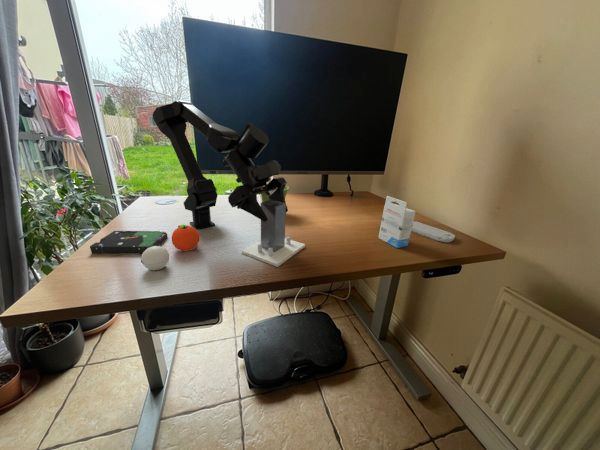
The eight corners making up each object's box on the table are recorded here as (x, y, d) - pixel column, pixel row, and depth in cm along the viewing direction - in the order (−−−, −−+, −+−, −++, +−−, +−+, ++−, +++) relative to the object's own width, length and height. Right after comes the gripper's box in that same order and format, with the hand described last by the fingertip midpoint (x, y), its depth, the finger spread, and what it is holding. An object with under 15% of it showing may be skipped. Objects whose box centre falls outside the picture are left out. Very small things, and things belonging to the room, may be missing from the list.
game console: (458, 233, 82) (448, 239, 78) (456, 240, 83) (446, 245, 78) (409, 218, 95) (398, 221, 91) (408, 223, 96) (396, 227, 92)
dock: (241, 253, 66) (241, 244, 65) (272, 236, 77) (272, 228, 76) (277, 266, 60) (277, 257, 59) (304, 246, 72) (305, 238, 70)
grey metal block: (260, 247, 68) (260, 203, 63) (270, 241, 72) (271, 199, 67) (274, 252, 66) (275, 206, 61) (284, 246, 69) (285, 203, 64)
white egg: (148, 263, 59) (143, 242, 57) (173, 261, 60) (170, 241, 58) (135, 281, 52) (130, 258, 50) (164, 279, 53) (160, 256, 51)
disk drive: (91, 256, 61) (152, 255, 63) (88, 246, 60) (150, 246, 62) (115, 239, 71) (168, 238, 72) (113, 230, 70) (167, 230, 71)
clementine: (167, 247, 66) (163, 224, 64) (192, 240, 71) (189, 218, 69) (180, 258, 62) (176, 233, 59) (205, 250, 66) (203, 226, 64)
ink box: (408, 246, 76) (419, 201, 70) (397, 248, 74) (407, 202, 68) (388, 235, 83) (397, 194, 77) (377, 237, 81) (385, 195, 75)
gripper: (234, 151, 53) (273, 208, 52) (282, 148, 68) (313, 192, 67) (212, 181, 60) (247, 232, 59) (261, 172, 75) (289, 213, 74)
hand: (277, 216), depth 65 cm, fingers open, 9 cm apart
